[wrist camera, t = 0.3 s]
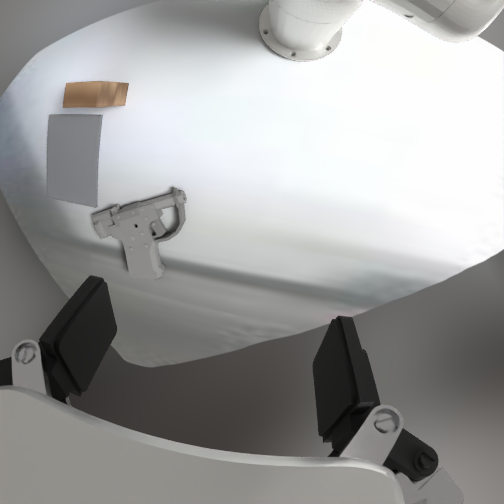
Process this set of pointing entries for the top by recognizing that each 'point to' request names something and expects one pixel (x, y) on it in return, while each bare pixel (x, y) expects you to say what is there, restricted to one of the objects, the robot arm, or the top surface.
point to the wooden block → (95, 94)
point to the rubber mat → (73, 157)
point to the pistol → (141, 231)
